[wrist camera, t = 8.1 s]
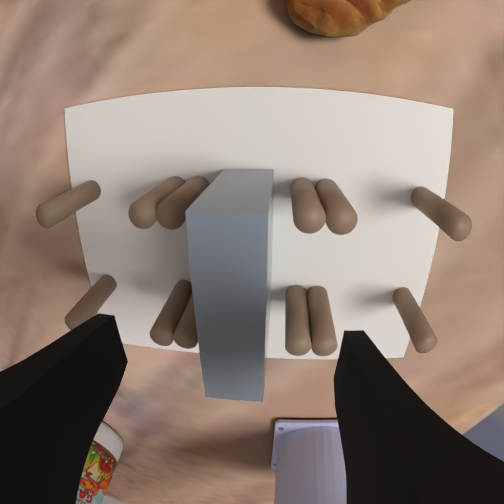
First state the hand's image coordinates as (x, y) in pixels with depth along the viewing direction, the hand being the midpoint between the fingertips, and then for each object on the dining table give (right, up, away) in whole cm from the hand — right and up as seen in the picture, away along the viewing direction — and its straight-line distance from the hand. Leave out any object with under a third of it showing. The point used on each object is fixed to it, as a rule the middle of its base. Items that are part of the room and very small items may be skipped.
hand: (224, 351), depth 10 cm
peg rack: (+1, +4, +8) cm, 9 cm away
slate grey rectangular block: (+1, +3, +8) cm, 8 cm away
